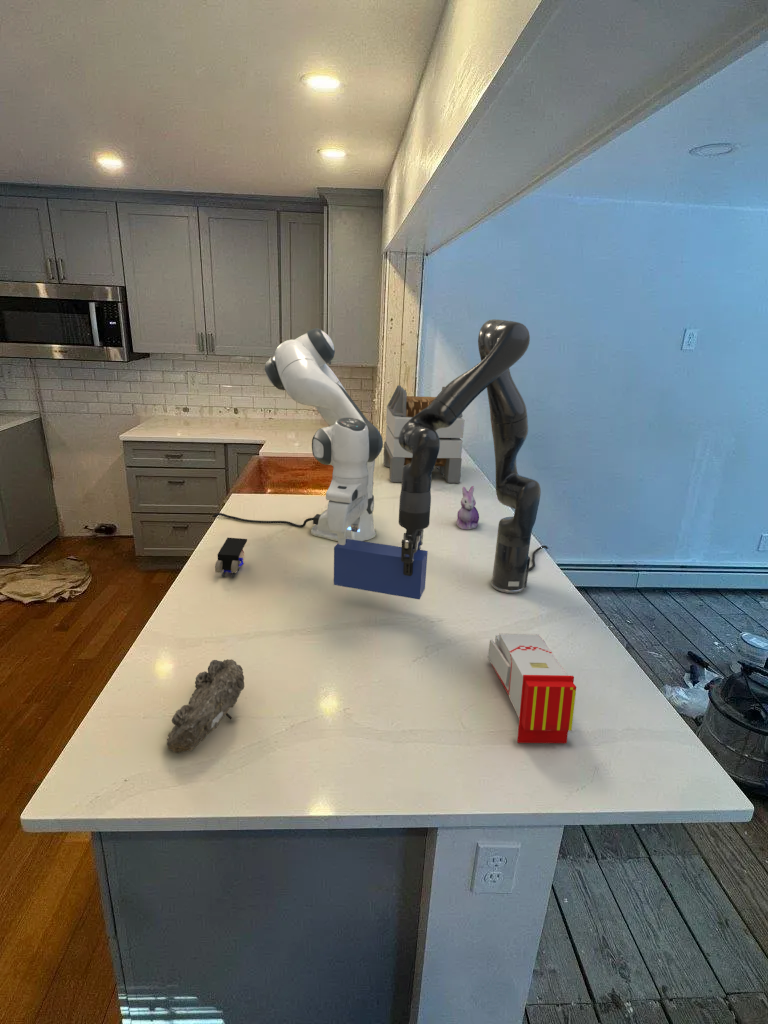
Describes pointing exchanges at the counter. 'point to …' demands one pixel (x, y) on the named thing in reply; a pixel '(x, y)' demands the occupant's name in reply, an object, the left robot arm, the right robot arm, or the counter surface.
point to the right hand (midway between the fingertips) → (411, 569)
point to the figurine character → (230, 556)
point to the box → (378, 569)
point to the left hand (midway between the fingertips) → (349, 537)
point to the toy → (534, 687)
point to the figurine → (468, 510)
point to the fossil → (206, 705)
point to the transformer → (450, 442)
